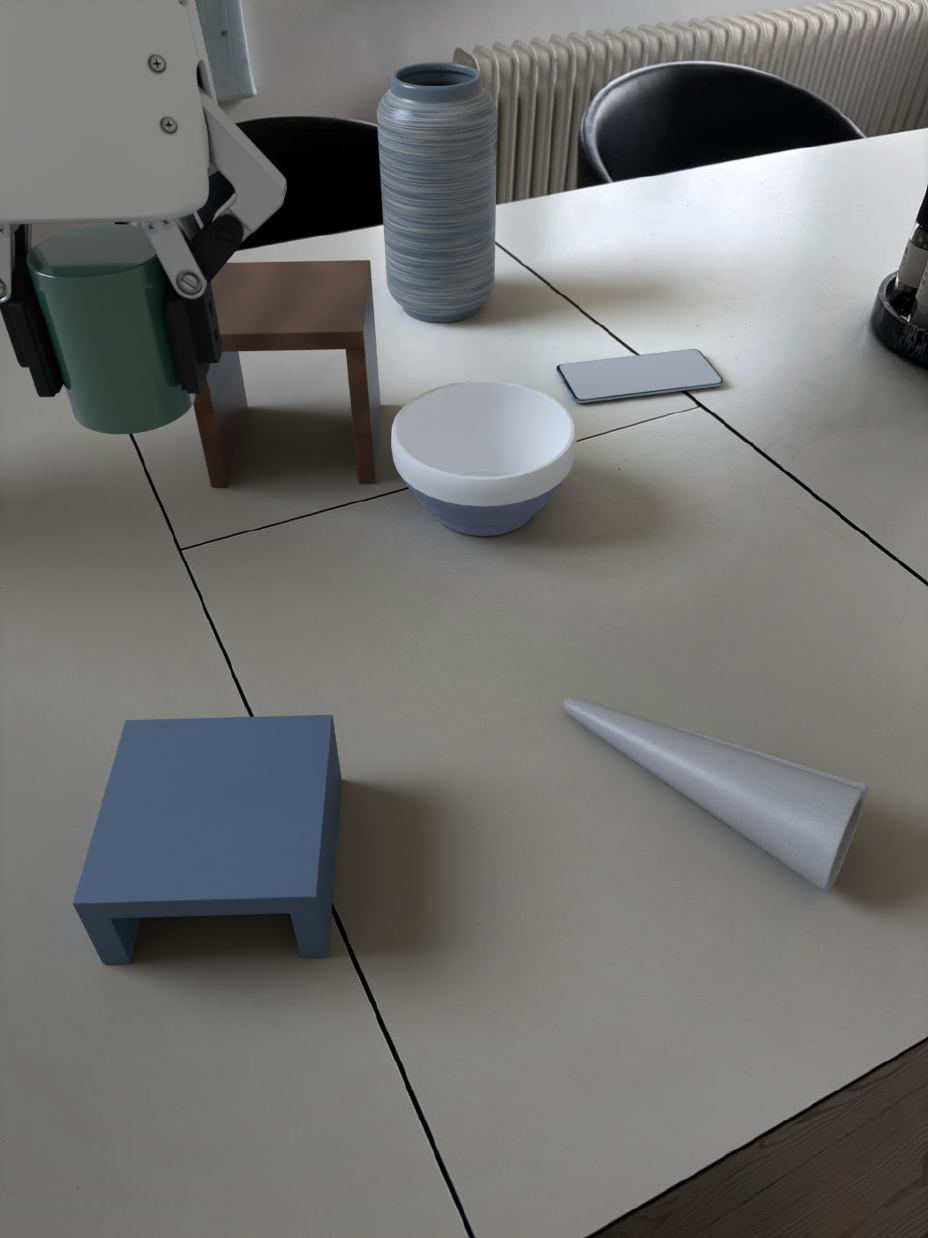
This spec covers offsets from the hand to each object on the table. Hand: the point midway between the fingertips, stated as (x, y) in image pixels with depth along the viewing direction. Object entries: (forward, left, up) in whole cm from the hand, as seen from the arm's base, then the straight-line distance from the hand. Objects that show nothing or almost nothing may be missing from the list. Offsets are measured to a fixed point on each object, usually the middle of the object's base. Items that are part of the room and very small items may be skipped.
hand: (127, 374), depth 41 cm
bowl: (+16, +30, -29) cm, 45 cm away
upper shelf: (0, +40, -29) cm, 50 cm away
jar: (0, 0, -1) cm, 1 cm away
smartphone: (+32, +50, -29) cm, 66 cm away
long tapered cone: (+27, 0, -29) cm, 40 cm away
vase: (+13, +67, -29) cm, 74 cm away
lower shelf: (0, -4, -29) cm, 29 cm away
